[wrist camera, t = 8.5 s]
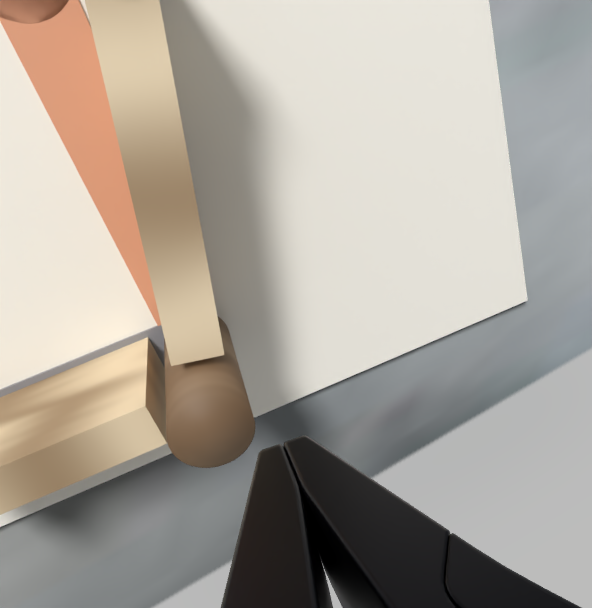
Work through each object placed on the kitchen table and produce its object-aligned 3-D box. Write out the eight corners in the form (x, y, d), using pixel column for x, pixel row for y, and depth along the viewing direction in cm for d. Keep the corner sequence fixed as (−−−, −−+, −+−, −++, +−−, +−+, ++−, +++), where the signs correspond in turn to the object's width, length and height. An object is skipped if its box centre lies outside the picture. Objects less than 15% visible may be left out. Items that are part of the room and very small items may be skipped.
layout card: (-28, 532, 21) (-32, 542, 20) (-489, 21, 12) (-514, 19, 12) (521, 296, 23) (529, 301, 22) (444, -278, 15) (453, -290, 14)
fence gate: (234, 361, 20) (260, 456, 15) (171, 375, 19) (175, 477, 14) (156, -83, 14) (155, -174, 9) (63, -78, 14) (8, -170, 9)
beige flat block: (-63, 469, 19) (-134, 593, 14) (-98, 429, 18) (-186, 548, 14) (167, 373, 20) (171, 462, 15) (144, 330, 19) (140, 411, 14)
